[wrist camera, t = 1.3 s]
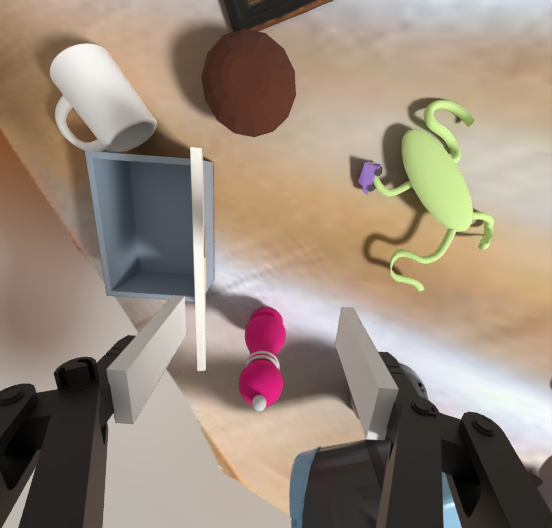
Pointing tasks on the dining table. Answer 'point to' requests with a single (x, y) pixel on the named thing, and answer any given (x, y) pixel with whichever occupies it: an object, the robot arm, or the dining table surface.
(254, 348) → the pepper mill
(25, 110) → the dining table surface
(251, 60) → the muffin
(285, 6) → the framed painting
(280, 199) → the dining table surface
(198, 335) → the lid
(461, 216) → the figurine
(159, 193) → the box
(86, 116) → the mug
